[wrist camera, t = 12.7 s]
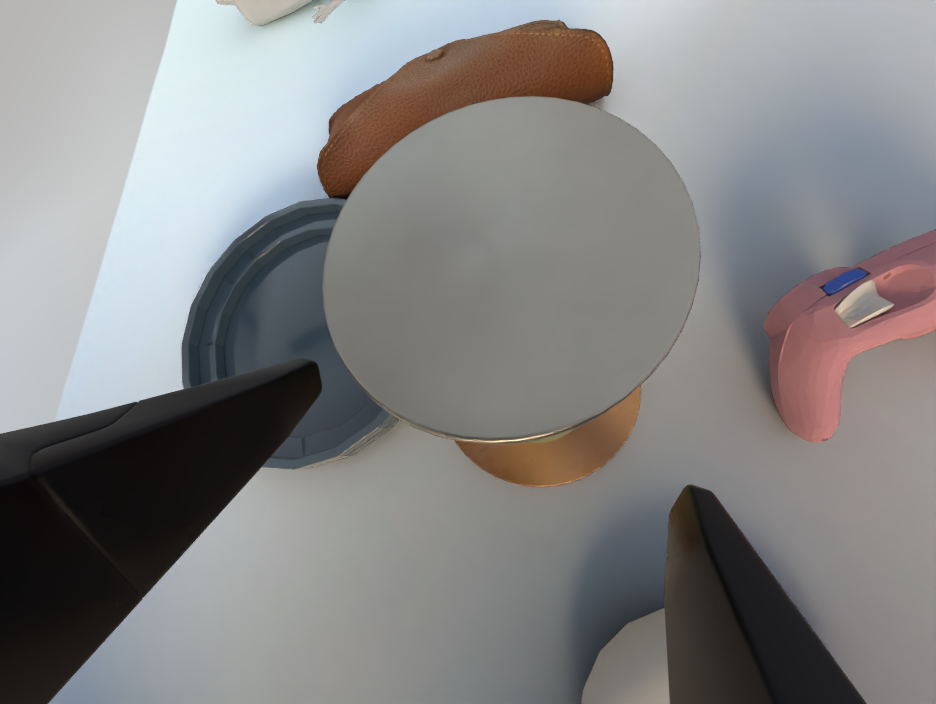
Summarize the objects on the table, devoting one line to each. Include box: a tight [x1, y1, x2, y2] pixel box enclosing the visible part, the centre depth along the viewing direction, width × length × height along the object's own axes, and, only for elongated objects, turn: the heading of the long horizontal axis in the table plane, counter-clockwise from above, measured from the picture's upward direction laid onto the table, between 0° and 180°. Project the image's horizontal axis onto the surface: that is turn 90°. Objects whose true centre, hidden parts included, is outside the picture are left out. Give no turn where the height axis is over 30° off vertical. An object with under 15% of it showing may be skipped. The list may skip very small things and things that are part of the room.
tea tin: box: [322, 96, 701, 445], centre depth 12 cm, size 6×6×13 cm
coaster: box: [455, 385, 641, 487], centre depth 18 cm, size 10×10×1 cm
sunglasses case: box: [317, 20, 613, 199], centre depth 23 cm, size 18×7×7 cm, turn 106°
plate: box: [182, 197, 399, 469], centre depth 22 cm, size 16×16×2 cm
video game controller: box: [764, 229, 936, 442], centre depth 13 cm, size 10×5×7 cm, turn 108°
